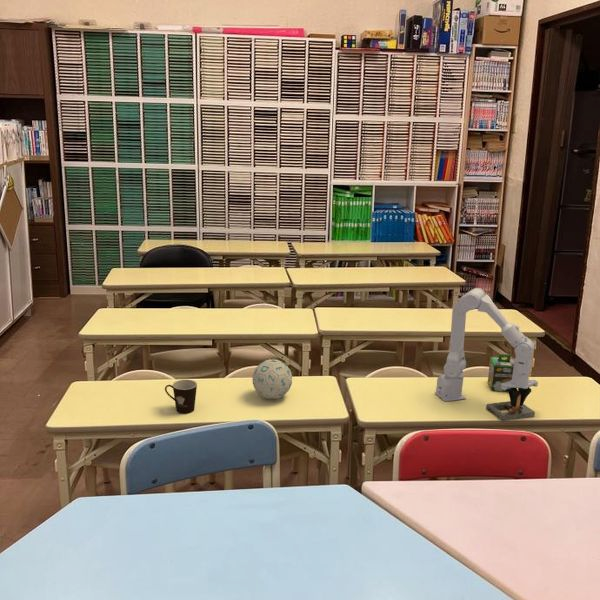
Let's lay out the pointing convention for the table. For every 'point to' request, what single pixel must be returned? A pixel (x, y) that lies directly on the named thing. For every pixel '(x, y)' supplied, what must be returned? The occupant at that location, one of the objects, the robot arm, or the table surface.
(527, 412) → the keyhole plate
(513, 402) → the robot arm
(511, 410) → the peg
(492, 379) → the chalk box
